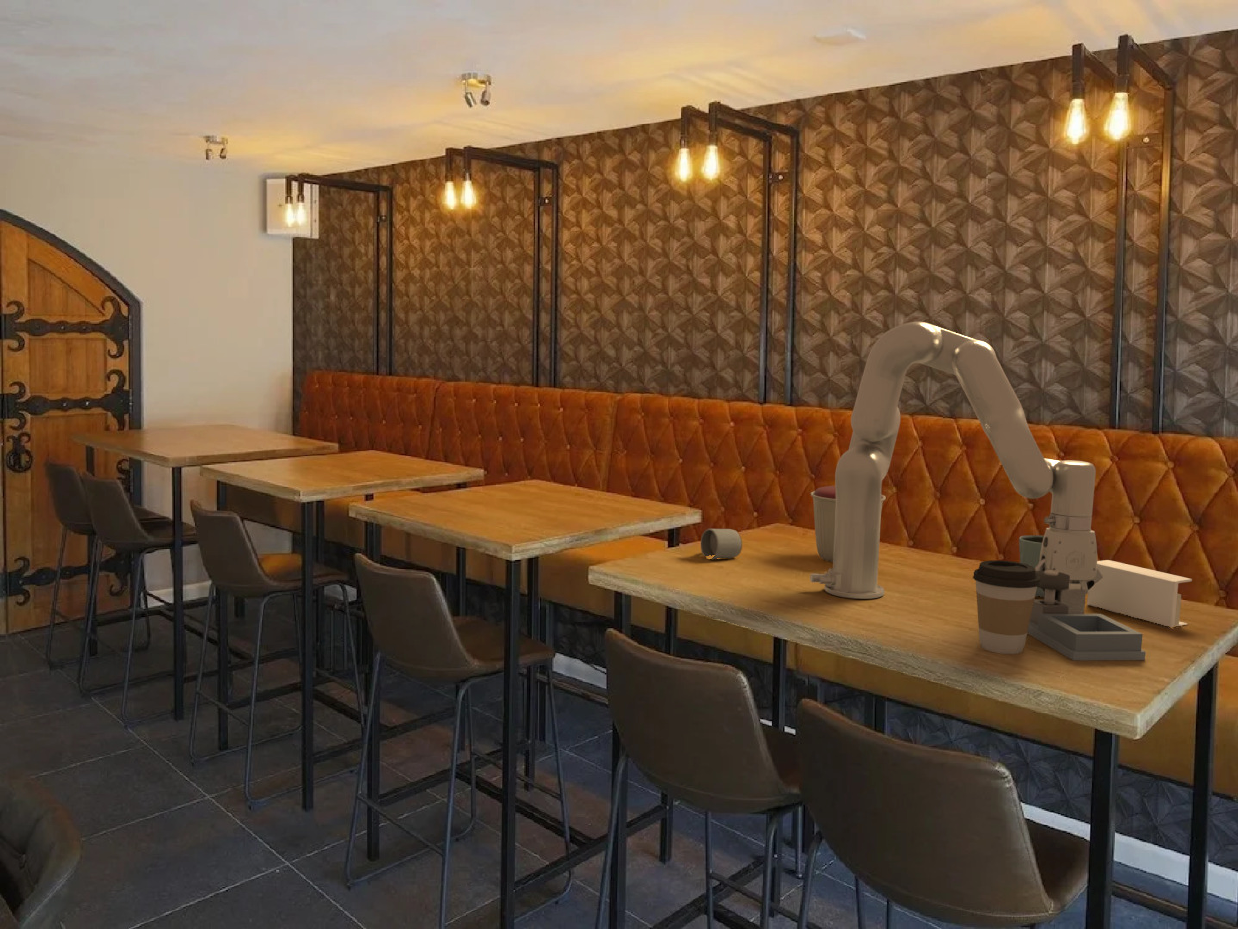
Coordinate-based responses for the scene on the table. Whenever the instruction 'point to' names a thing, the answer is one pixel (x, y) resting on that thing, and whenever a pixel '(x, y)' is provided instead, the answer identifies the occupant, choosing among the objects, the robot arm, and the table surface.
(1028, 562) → the green tumbler
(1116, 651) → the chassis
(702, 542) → the ceramic mug
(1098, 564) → the beige beam
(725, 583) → the table surface
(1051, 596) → the round knob on base
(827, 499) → the canister
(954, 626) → the table surface
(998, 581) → the coffee cup
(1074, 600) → the beige block
